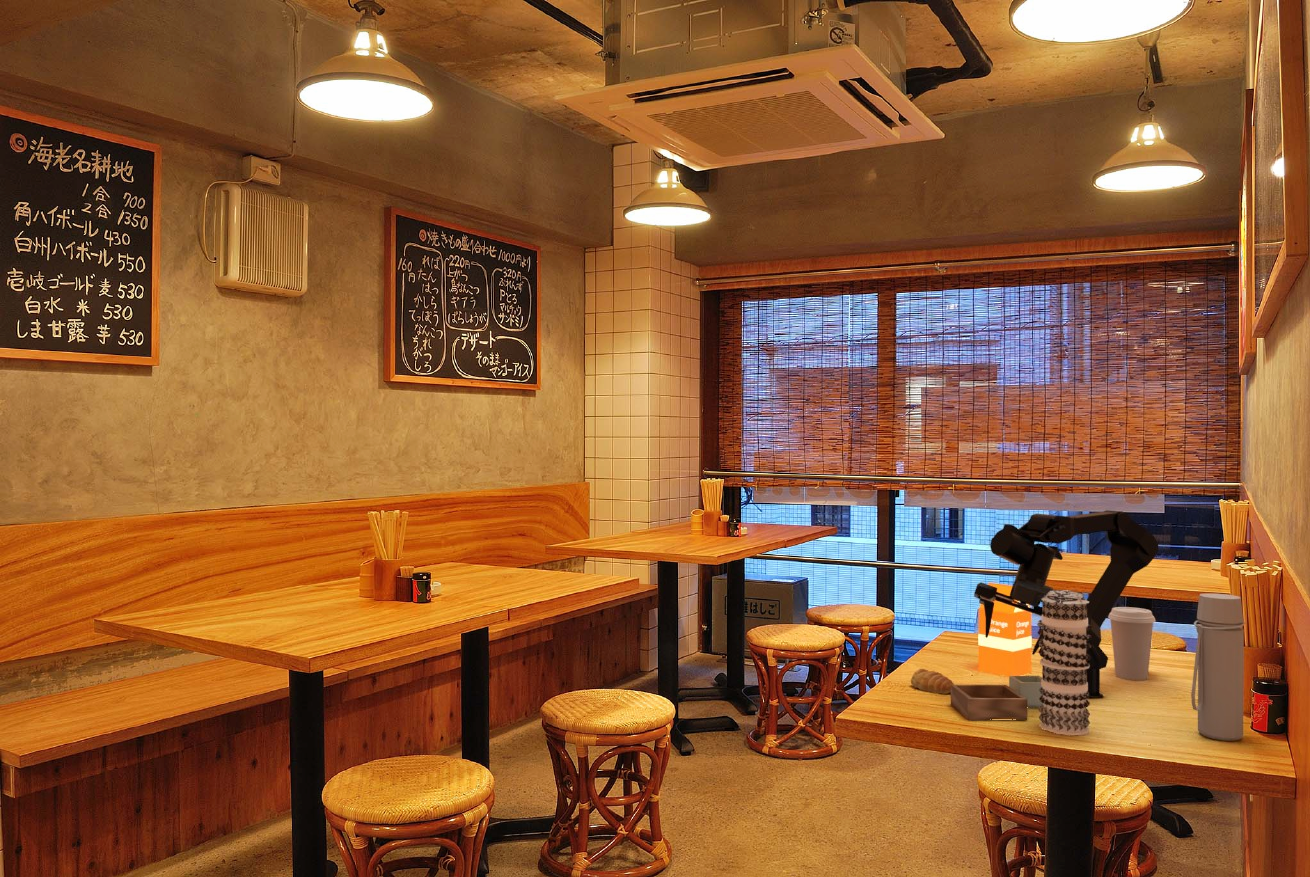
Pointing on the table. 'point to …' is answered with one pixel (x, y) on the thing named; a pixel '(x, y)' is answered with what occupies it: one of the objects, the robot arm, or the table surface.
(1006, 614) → the orange juice
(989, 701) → the big crate
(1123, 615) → the coffee cup
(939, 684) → the pastry
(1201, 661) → the water bottle
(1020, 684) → the small crate
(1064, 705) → the decorative candle
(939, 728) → the table surface
